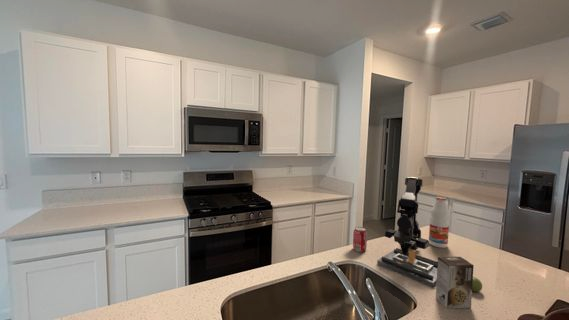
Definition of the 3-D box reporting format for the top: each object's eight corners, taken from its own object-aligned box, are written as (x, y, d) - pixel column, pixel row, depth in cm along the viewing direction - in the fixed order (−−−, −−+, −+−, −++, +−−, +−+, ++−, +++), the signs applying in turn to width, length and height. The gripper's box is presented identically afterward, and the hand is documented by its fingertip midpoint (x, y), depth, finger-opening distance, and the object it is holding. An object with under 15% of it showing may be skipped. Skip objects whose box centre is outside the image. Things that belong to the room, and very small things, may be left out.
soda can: (364, 247, 133) (365, 226, 132) (367, 253, 126) (368, 231, 125) (351, 246, 134) (352, 226, 133) (354, 252, 127) (355, 230, 126)
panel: (395, 252, 128) (396, 246, 128) (448, 271, 110) (448, 264, 109) (377, 264, 115) (377, 257, 114) (433, 287, 97) (433, 279, 96)
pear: (473, 280, 92) (451, 271, 102) (474, 294, 92) (452, 284, 102) (485, 279, 93) (462, 270, 103) (486, 293, 93) (463, 282, 103)
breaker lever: (408, 260, 115) (409, 248, 114) (417, 263, 112) (418, 251, 111) (405, 262, 113) (406, 249, 112) (414, 265, 110) (415, 252, 109)
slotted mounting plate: (381, 259, 115) (381, 257, 115) (396, 250, 126) (397, 247, 126) (432, 280, 98) (432, 276, 98) (444, 266, 109) (445, 263, 109)
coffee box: (457, 297, 91) (460, 256, 90) (471, 308, 84) (475, 265, 83) (434, 297, 90) (437, 256, 89) (446, 308, 84) (449, 264, 83)
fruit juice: (447, 244, 140) (450, 197, 138) (447, 249, 132) (450, 200, 131) (429, 240, 145) (431, 195, 144) (427, 245, 138) (430, 197, 136)
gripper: (379, 222, 115) (378, 253, 116) (421, 233, 101) (419, 269, 102) (390, 217, 122) (389, 247, 124) (430, 228, 108) (428, 261, 109)
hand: (404, 255), depth 114 cm, fingers closed
